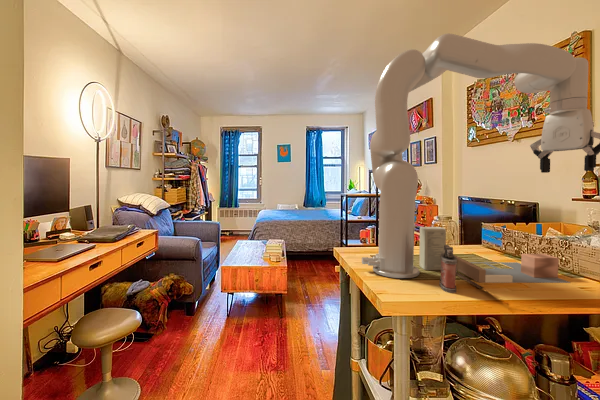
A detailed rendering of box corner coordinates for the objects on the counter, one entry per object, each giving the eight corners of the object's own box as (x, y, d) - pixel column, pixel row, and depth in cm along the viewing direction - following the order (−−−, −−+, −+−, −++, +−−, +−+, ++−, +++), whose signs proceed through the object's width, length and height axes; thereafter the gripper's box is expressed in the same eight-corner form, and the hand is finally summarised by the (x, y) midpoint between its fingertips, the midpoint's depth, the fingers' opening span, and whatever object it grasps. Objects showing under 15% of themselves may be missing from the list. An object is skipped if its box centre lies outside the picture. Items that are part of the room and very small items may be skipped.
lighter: (458, 293, 69) (460, 250, 68) (442, 292, 70) (443, 249, 69) (452, 282, 76) (453, 243, 76) (437, 281, 77) (438, 242, 77)
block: (533, 277, 75) (534, 258, 75) (520, 272, 80) (521, 253, 79) (557, 277, 75) (558, 258, 75) (543, 272, 80) (544, 253, 79)
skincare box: (438, 266, 91) (439, 226, 90) (445, 270, 87) (447, 228, 86) (418, 266, 91) (419, 226, 90) (424, 270, 87) (425, 228, 86)
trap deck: (478, 288, 72) (479, 270, 72) (443, 267, 90) (443, 252, 90) (570, 288, 72) (571, 270, 71) (516, 267, 90) (517, 252, 89)
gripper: (524, 114, 87) (523, 173, 88) (604, 98, 71) (601, 170, 72) (539, 115, 90) (537, 173, 91) (619, 101, 74) (616, 170, 75)
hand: (566, 171), depth 81 cm, fingers open, 9 cm apart
